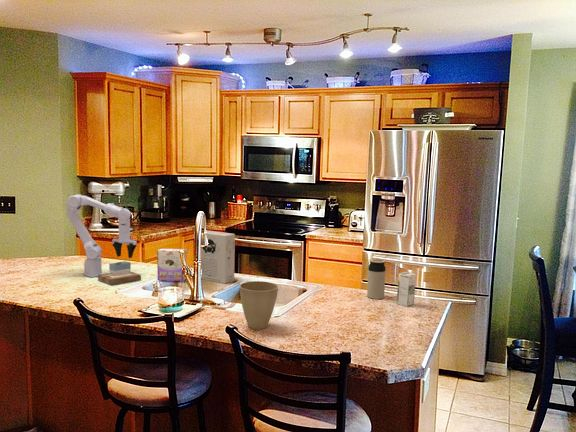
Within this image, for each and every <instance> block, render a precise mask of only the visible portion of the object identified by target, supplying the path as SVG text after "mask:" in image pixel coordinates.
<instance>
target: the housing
mask: <svg viewBox="0 0 576 432" xmlns="http://www.w3.org/2000/svg"><path fill="white" fill-rule="evenodd" d="M131 264H132V263H131V262H130V261H126V260H125V261H119V262H118V261H117V262H112V263H109V264H108V265H109V272H108V273H109V275H110V276H113V277H117V276H123V275H129V274H131V272H132V270H131V267H132V266H131Z"/></svg>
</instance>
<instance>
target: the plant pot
mask: <svg viewBox="0 0 576 432" xmlns="http://www.w3.org/2000/svg"><path fill="white" fill-rule="evenodd" d="M278 291H279V285H278V284H277V283H274V282H269V281H260V280H253V281H245V282H242V283H240V284H239V295H240V301H241V306H242V310H243V315H244V319H245V321H246V323H247V326H248V328H250V329H254V330H262V329H266V328H267V327H268V325H269V324H270V323H269V322H270V321H271V318H272V315H273V311H274V309H275V304H276V301H277V296H278Z"/></svg>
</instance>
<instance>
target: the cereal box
mask: <svg viewBox="0 0 576 432" xmlns="http://www.w3.org/2000/svg"><path fill="white" fill-rule="evenodd" d="M235 236H236V234H235V233H229V232H222V231H214V230H208V229H207V238H208V243H209V244H208V246H205V247H202V249H201V269H202V279H201V280H206V281H210V282H214V283H219V284H220V283H221V284H229V283H231V282H234V281H235V255H236V254H235V251H236V249H235V248H236V247H235V242H236V237H235ZM193 239H195V231H194V233H193Z"/></svg>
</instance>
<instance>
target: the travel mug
mask: <svg viewBox="0 0 576 432" xmlns="http://www.w3.org/2000/svg"><path fill="white" fill-rule="evenodd" d="M368 261H369V265H368V269H367V293H366V296H367V298H369V299H372V300H381V299H384V298H385V287H386V285H385V284H386V268H387V267H386V266H385V263H386V260H385V259H382V258H370V259H368Z"/></svg>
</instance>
